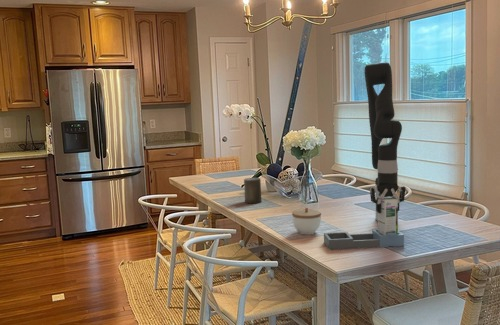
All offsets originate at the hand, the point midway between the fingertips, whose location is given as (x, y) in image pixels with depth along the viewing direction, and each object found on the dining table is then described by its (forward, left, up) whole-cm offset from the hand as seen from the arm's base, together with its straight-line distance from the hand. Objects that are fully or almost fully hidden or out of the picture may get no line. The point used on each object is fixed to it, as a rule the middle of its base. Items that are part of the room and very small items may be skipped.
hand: (387, 212), depth 188 cm
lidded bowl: (-21, -29, -13) cm, 38 cm away
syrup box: (0, 0, -9) cm, 9 cm away
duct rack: (0, -10, -13) cm, 16 cm away
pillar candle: (-89, -49, -13) cm, 102 cm away
